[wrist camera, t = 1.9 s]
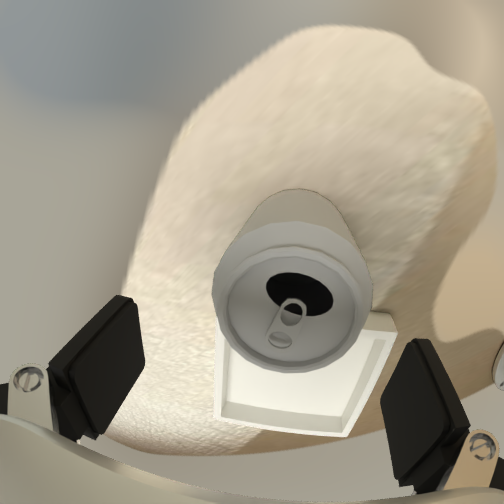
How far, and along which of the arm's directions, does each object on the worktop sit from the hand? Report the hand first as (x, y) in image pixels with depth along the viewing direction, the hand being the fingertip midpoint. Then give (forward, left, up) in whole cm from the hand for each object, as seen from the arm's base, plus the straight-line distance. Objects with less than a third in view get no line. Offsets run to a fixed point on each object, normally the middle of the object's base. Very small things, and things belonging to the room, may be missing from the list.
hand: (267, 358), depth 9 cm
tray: (-3, +13, -15) cm, 20 cm away
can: (-1, 0, -15) cm, 15 cm away
